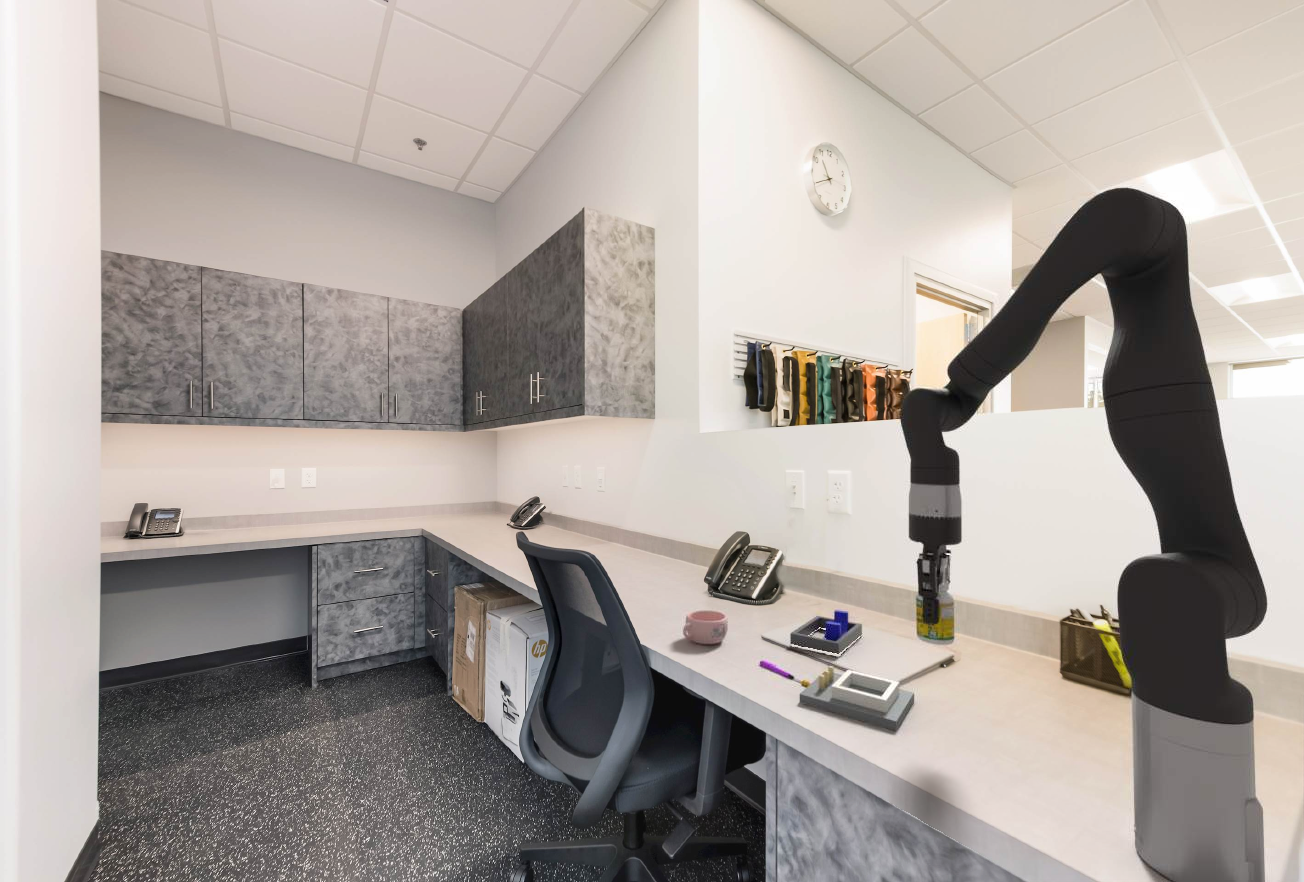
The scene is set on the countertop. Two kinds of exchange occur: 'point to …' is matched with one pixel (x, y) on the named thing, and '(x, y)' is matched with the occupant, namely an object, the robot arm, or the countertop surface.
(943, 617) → the supplement bottle
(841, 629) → the cable clip
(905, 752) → the countertop surface
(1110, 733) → the countertop surface
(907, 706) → the board
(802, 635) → the tray
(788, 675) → the purple handled brush
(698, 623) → the mug
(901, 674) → the countertop surface
